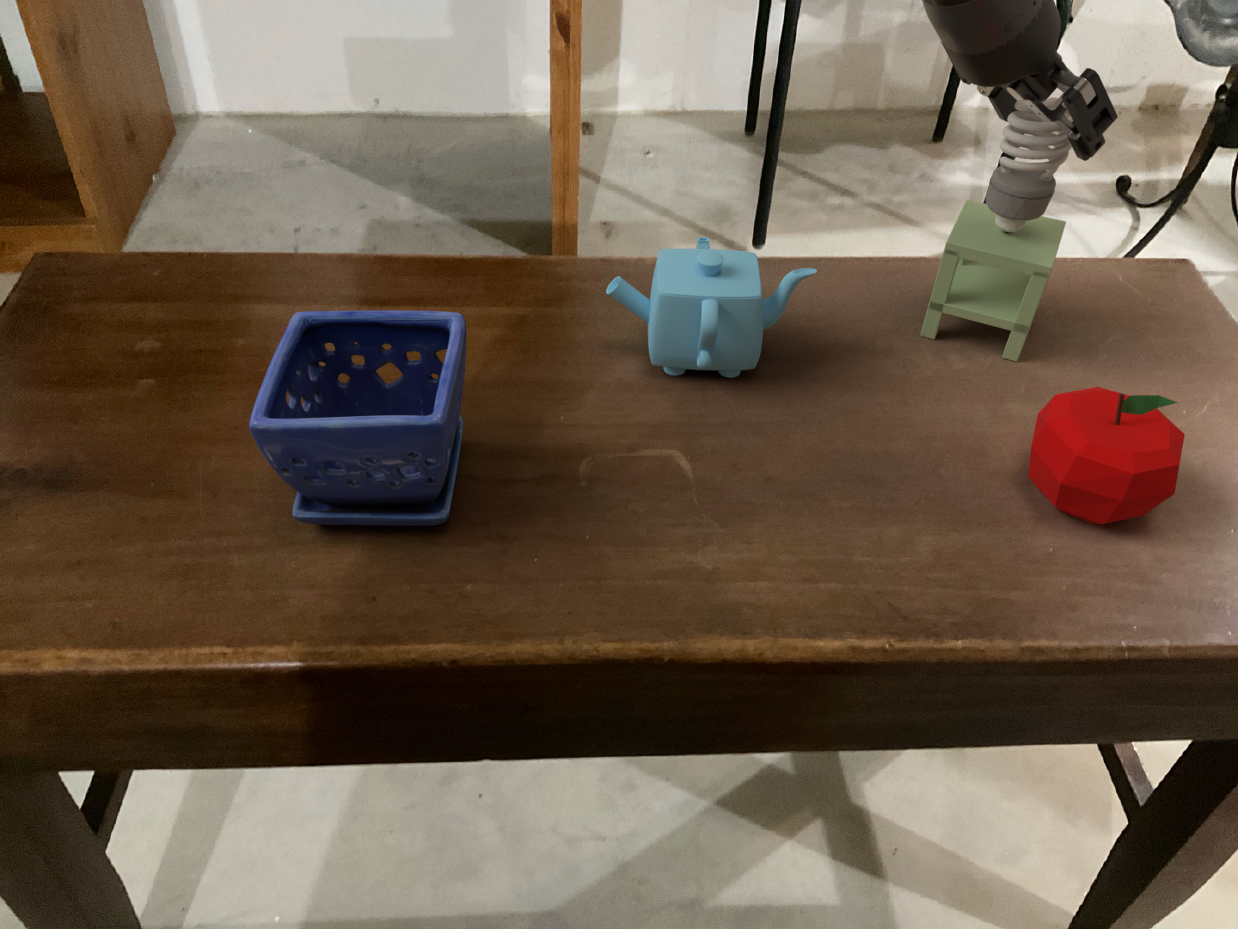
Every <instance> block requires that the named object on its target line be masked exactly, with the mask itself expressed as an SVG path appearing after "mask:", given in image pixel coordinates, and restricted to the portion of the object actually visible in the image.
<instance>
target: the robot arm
mask: <svg viewBox="0 0 1238 929" xmlns="http://www.w3.org/2000/svg"><path fill="white" fill-rule="evenodd" d="M921 2H922V5H923V8H924V11H925V14H926V16H927V18H928V20H929V22H930V24H931V25H932V27H933V29H934V31H935V33H936V35H937V36H938V38H939V40H940V41H941V45H942V47H943V49H944V51H945V52H946V55H947V56H948V58H949V60H950V62H951V64H952V66H953V68H954V70H955V72H956V73H957V76H958V77H959V79H960V81H961V82H962V83H963V84H966V85H968V86H970V85H974V86H976V90H977V91H978V93H979V94H980V95H981V96H984V97H987V98H988V100H989V102H990V104H991V106H992V107H993V109H994V111H995V113H996V114H997V117H998V118H999V119H1000V120H1002V121H1003V122H1005V123H1008V120H1007V119H1008V116H1009V115H1010V114H1011V113H1012V112H1015V111H1019V110H1017V109H1015V103H1016V102H1017V101H1023V102H1024V103H1025V104H1026V105H1027V106H1028V107H1029V108H1030V109H1031V110H1032V111H1033V112H1034V113H1035V114H1036V115H1037V116H1038V117H1040V118H1041V119H1042V120H1043V121H1044V122H1055V123H1056V124H1057V125H1058V126H1059V127H1060V128H1061V129H1062V130H1063V131H1064V132H1065V133H1066V134H1067V137H1068V139H1069V141H1070V143H1071V146H1072V148H1071V149H1073V152H1074V154H1075V156H1076V158H1077V159H1080V160H1082V161H1084V162H1086V161H1088V160H1090V159H1091V158H1093V157H1094V156H1095V155H1096V154H1097V153H1098V152H1099V150H1100V149H1101V148H1102V147H1103V146H1104V145H1105V144H1106V138H1105V136H1104V133H1105V132H1106V131H1107V130H1108V129H1109V128H1110V127H1111V126H1112V125H1113V123H1114V122H1115V121H1116V120H1117V119H1118V118H1119V116H1118V114H1117V111H1116V109H1115V107H1114V105H1113V102H1112V101H1111V98H1110V95H1109V94H1108V92H1107V90H1106V87H1105V85H1104V83H1103V81H1102V79H1101V76H1100V75H1099V73H1098V72H1097V71H1096V70H1095V69H1092V68H1090V67H1086V68H1085V69H1084V70H1083V71H1082V73H1081V74H1080V75H1079V76H1078V75H1076V74H1074V73H1073V72H1072V71H1071V69H1069V67H1067V65H1066V63H1065V62H1064V61H1063V57H1062V55H1061V54H1060V53H1059V52H1058V51H1057V47H1058V42H1059V38H1060V32H1061V27H1062V26H1061V25H1062V22H1061V15H1060V12H1059V9H1058V7H1057V4H1056V3H1055V0H921ZM1057 89H1058V90H1059V91H1060V92H1062V93H1061V95H1060V96H1059V97H1057V98H1058V99H1057V101H1056V102H1055V103H1054V104H1053V105H1052V106H1051V107H1050V108H1049V109H1048V108H1047V107H1046V106H1045V105H1044V104H1043V103H1042V102H1044V101H1046V100H1047V99H1049V98H1050V97H1051V95H1052V94H1054V92H1055V90H1057ZM1066 110H1068V112H1069V114H1070V116H1071V118H1072V119H1073V121H1072V122H1071V121H1070V120H1069V119H1068V118H1067V117H1066V116H1065V111H1066Z"/></svg>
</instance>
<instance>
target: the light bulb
mask: <svg viewBox="0 0 1238 929" xmlns="http://www.w3.org/2000/svg"><path fill="white" fill-rule="evenodd" d="M1058 98H1059V97H1053V96H1052V97H1051V96H1050V97H1048V99H1047V100H1046V101H1044V102H1042V103H1043V104H1044V105H1045V106H1046V107H1047V108H1048V109H1049V108H1050V107H1051V106H1052V105H1053V104H1054V103H1055V102H1056V101H1057V99H1058ZM1015 109H1017V110H1019V111H1015V112H1012V113H1011V114H1010V115H1009V116H1008V119H1007V120H1008V122H1007V123H1008V124H1007V125H1006V126H1004V128H1003V129H1002V136H1003V137H1004V138H1002V139H1001V140H1000V142H999V149H1000V150H1001V151H1002V153H1004V154H1006V155H1008V156H1011V157H1014V158H1017V159H1024V160H1031V161H1032V160H1034V161H1036V160H1037V161H1039V160H1041V162H1025V161H1018V160H1014V159H1011V158H1009V157H1007V156H1001V157H1000V158H999V166H997V167H996V168H995V169H994V170H993V171H992V174H991V176H990V178H989V181H988V186H987V191H986V195H985V204H987V206H988V208H989V209H990V210H991V211H992V212H994V213H995V214H996V219H995V223H996V225H997V226H998V228H999V229H1001V230H1002V231H1003V232H1004V233H1012V232H1016V231H1018V230H1021V229H1022V228H1023V227H1024V224H1025V223H1026V221H1029V220H1033V219H1037V218H1039V217H1040V216H1044V214H1045V212H1046V210H1047V208H1048V206H1049V204H1050V202H1051V200H1052V198H1053V196H1054V194H1055V189H1056V187H1057V180H1056V178H1055V176H1054V175H1055V173H1056V172H1057V171H1058V170H1059V167H1060V166H1061V165H1063V164H1064V163H1065V162H1066V161H1067V159H1068V158H1069V155H1070V150H1071V149H1073V148H1072V146H1071V143H1070V141H1069V139H1068V137H1067V134H1066V133H1065V132H1064V131H1063V130H1062V129H1061V128H1060V127H1059V126H1058V125H1057V124H1056V123H1055V122H1044V121H1043V120H1042V119H1041V118H1040V117H1038V116H1037V115H1036V114H1035V113H1034V112H1033V111H1032V110H1031V109H1030V108H1029V107H1028V106H1027V105H1026V104H1025V103H1024V102H1023V101H1017V102H1016V103H1015ZM1065 116H1066V117H1067V118H1068V119H1069V120H1070V121H1071V122H1072V121H1073V119H1072V118H1071V116H1070V114H1069V112H1068V110H1066V111H1065ZM1055 132H1057V134H1056V133H1055ZM1052 146H1053V147H1052ZM1051 147H1052V148H1051ZM1042 160H1047V161H1044V162H1043V161H1042Z"/></svg>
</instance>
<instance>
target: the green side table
mask: <svg viewBox="0 0 1238 929" xmlns="http://www.w3.org/2000/svg"><path fill="white" fill-rule="evenodd" d="M995 219H996V214H995V213H994V212H992V211H991V210H990V209H989V208H988V206H987V204H986V202H985V203H984V202H980V201H975V200H971V199H966V200H965V201H964V204H963V206H962V208H961V210H960V212H959V214H958V216H957V219H956V221H955V223H954V225H953V227H952V229H951V231H950V234H949V236H948V238H947V240H946V242H945V245H944V249H943V251H942V256H941V259H940V263H939V267H938V269H937V273H936V277H935V280H934V284H933V288H932V292H931V295H930V299H929V301H928V305H927V308H926V313H925V316H924V319H923V323H922V327H921V331H920V335H919V336H920V337H923V338H927V339H931V340H935V339H936V337H937V334H938V333H939V329H940V326H941V322H942V319H943V316H944V314H945V315H948V316H949V315H950V316H954V317H957V318H959V319H960V318H961V319H965V320H969V321H973V322H976V323H980V324H984V325H987V326H992V327H995V328H999V329H1003V330H1007V331H1010V333H1009V337H1008V339H1007V342H1006V344H1005V347H1004V350H1003V353H1002V356H1001V358H1002V359H1005V360H1010V361H1011V362H1012V361H1013V362H1016V363H1017V362H1019V361H1018V360H1019V359H1020V356H1021V354H1022V350H1023V348H1024V345H1025V343H1026V340H1027V337H1028V335H1029V332H1030V329H1031V326H1032V324H1033V321H1034V319H1035V316H1036V313H1037V311H1038V308H1039V306H1040V302H1041V300H1042V297H1043V295H1044V292H1045V289H1046V286H1047V283H1048V281H1049V278H1050V276H1051V273H1052V270H1053V267H1054V265H1055V261H1056V257H1057V255H1058V251H1059V248H1060V244H1061V241H1062V238H1063V235H1064V231H1065V227H1066V224H1067V221H1066V220H1061V219H1057V218H1052V217H1048V216H1044V215H1042V216H1040V217H1039V218H1037V219H1033V220H1029V221H1026V223H1025V224H1024V227H1023V228H1022V229H1021V230H1018V231H1016V232H1012V233H1004V232H1003V231H1002V230H1001V229H999V228H998V226H997V225H996V223H995Z"/></svg>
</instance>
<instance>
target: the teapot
mask: <svg viewBox="0 0 1238 929" xmlns="http://www.w3.org/2000/svg"><path fill="white" fill-rule="evenodd" d="M695 247H696V248H663V249H660V250H659V251H658V254H657V257H656V262H655V266H654V270H653V276H652V281H651V287H650V296H649V298H648V297H646V296H645V295H644V294H643V293H641V292H640V291H639V290H638V289H636V288H635V287H634V286H633V285H631V284H630V283H629V282H627V281H626V280H625V279H623V277H621V276H616V277H614V278H613V280H611V282H610V283H609V284H608V286H607V288H606V290H605V292H606V293H605V294H607V296H609V297H611V298H612V299H613V300H615V301H616V302H617V303H619V305H621V306H623V307H624V308H625V309H627V310H629V311H630V312H631V313H633V314H634V315H635V316H636V317H638V318H640V319H641V320H642V321H643V322H645V323H647V344H648V345H647V346H648V353H649V359H650V363H651V365H653V366H655V367H662V368H663V371H664V372H665V373H666V374H667V375H670V376H681V375H683V374H684V373H685V372H686V370H694V371H695V370H696V371H717V372H718V373H719V374H720V375H721V376H722V377H724V378H731V379H732V378H736V377H738V376H740V374H741V371H746V370H747V371H748V370H753V369H756V367H757V365H758V362H759V360H760V356H761V353H762V346H763V336H764V334H763V333H764V331H765V330H768V329H770V328H771V327H772V326H774V325H775V324H777V322H778V321H779V320H780V319H781V318H782V316H783V314H784V312H785V310H786V308H787V306H788V303H789V300H790V299H791V295H792V294H793V292H794V290H795V288H796V287H797V285H798V284H799V283H800V282H802V281H803V280H804V279H806V278H808V277H810V276H813V275H815V274H816V273H817V272H818V269H816V268H811V267H803V268H796V269H793V270H791V271H790V272H788V273H786V275H784V277H783V278H782V280H781V281H780V283H779V285H778V287H777V289H776V290H775V292H774V293H772V294H771V295H770V296H768V297H766V298H763V288H762V280H761V279H762V278H761V271H760V264H759V258H758V256H757V254H756V252H752V251H745V250H734V249H719V248H718V249H717V248H716V249H715V248H711V246H710V239H709V236H708V237H707V236H697V241H696V246H695Z"/></svg>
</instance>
